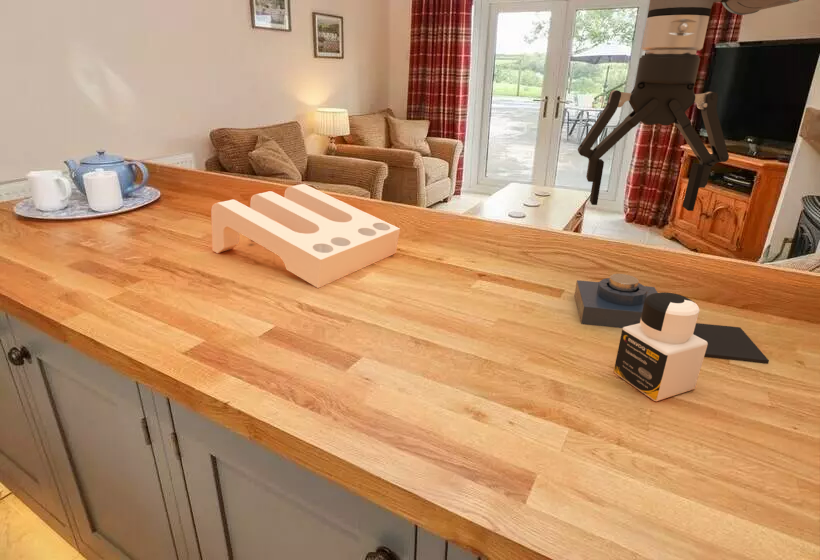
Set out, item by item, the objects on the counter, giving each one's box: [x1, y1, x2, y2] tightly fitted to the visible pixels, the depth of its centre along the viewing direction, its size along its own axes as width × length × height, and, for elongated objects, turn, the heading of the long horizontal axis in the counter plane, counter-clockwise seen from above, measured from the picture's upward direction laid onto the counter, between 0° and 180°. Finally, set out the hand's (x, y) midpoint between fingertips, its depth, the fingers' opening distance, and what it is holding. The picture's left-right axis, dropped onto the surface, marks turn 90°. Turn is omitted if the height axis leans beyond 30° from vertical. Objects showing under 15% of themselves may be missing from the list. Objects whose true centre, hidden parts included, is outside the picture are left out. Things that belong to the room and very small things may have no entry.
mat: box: [693, 322, 770, 365], centre depth 74 cm, size 10×10×1 cm
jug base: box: [574, 277, 659, 329], centre depth 82 cm, size 13×11×5 cm
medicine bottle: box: [613, 292, 708, 402], centre depth 62 cm, size 7×7×12 cm
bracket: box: [210, 183, 401, 289], centre depth 107 cm, size 24×12×32 cm
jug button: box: [608, 273, 640, 293], centre depth 81 cm, size 4×4×2 cm
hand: (639, 205), depth 75 cm, fingers open, 13 cm apart
